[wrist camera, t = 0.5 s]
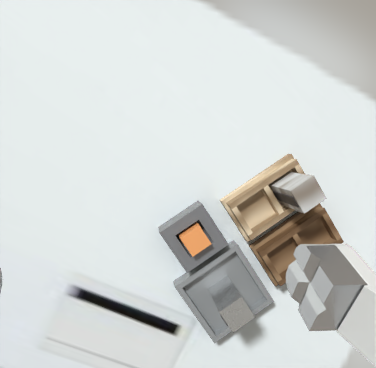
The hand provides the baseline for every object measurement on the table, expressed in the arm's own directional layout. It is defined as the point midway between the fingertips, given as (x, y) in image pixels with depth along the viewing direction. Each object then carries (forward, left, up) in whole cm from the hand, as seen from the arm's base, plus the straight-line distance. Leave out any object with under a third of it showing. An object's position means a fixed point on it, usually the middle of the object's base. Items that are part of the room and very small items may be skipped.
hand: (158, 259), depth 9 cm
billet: (-28, +1, -48) cm, 56 cm away
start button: (-15, 0, -47) cm, 49 cm away
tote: (-28, +1, -49) cm, 57 cm away
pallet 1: (-18, -16, -49) cm, 55 cm away
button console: (-15, 0, -49) cm, 52 cm away
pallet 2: (-29, -16, -49) cm, 59 cm away
